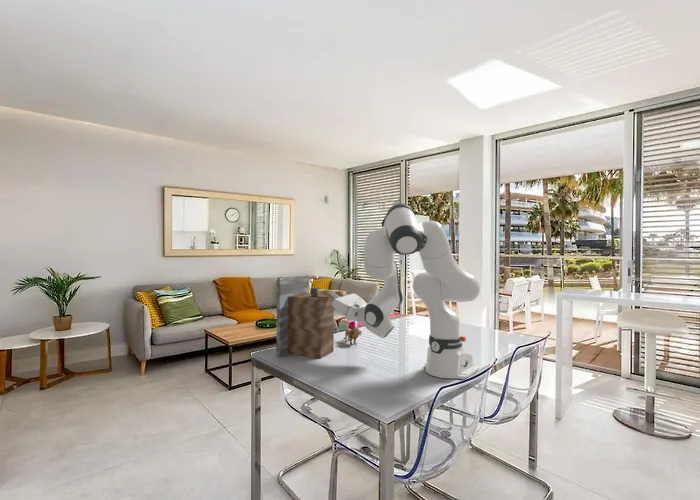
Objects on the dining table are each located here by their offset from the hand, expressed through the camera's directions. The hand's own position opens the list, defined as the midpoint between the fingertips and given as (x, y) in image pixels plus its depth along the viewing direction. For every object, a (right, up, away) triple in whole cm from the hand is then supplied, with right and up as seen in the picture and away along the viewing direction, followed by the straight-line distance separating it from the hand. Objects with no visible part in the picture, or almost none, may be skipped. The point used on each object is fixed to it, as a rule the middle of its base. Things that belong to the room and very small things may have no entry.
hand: (334, 292), depth 165 cm
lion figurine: (+8, -28, +22) cm, 37 cm away
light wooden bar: (-3, -2, +1) cm, 4 cm away
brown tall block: (-12, -28, +6) cm, 31 cm away
